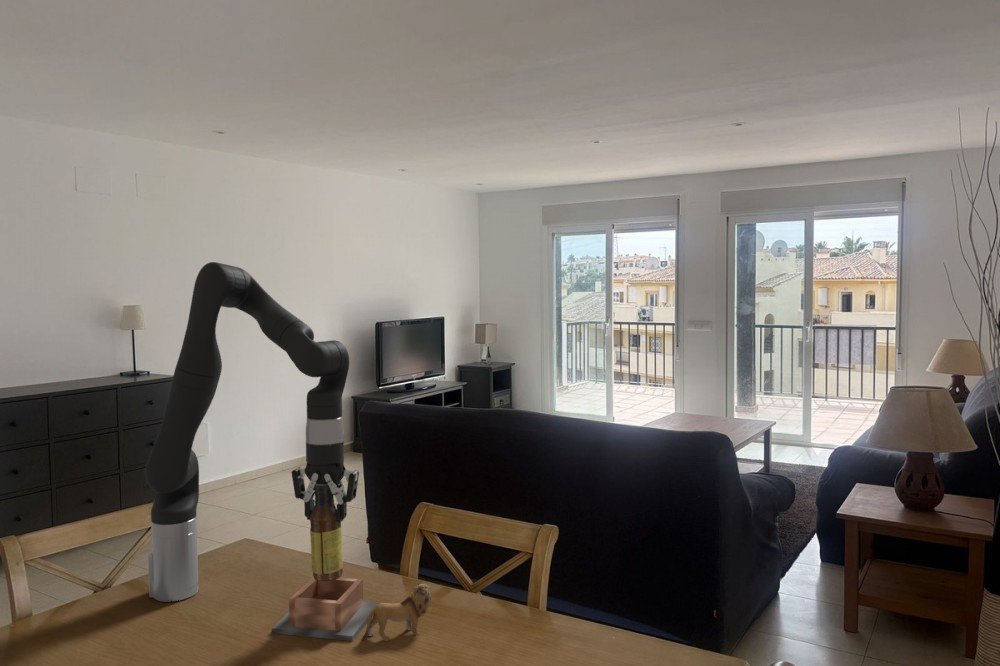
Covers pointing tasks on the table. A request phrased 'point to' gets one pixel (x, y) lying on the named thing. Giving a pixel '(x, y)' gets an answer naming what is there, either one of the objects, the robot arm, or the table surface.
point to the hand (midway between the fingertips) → (325, 519)
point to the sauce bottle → (325, 536)
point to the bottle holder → (327, 610)
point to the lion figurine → (400, 612)
